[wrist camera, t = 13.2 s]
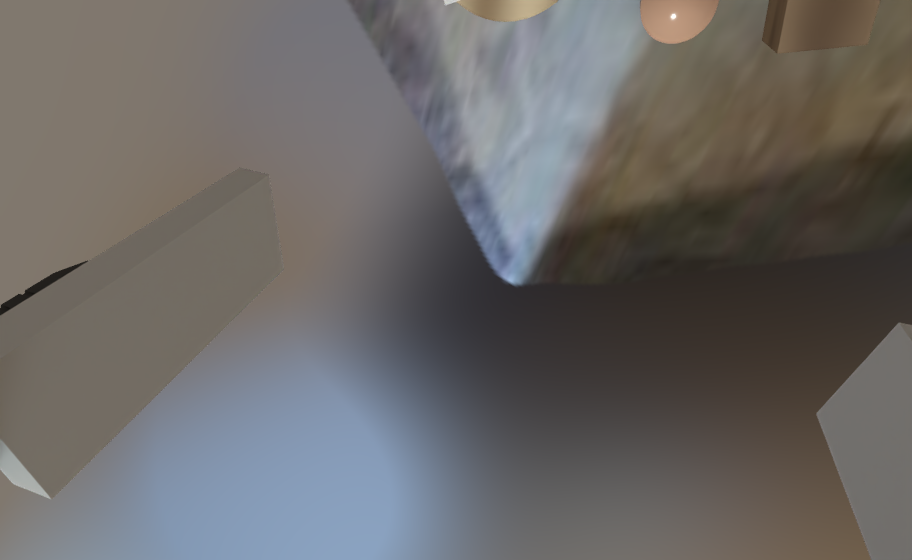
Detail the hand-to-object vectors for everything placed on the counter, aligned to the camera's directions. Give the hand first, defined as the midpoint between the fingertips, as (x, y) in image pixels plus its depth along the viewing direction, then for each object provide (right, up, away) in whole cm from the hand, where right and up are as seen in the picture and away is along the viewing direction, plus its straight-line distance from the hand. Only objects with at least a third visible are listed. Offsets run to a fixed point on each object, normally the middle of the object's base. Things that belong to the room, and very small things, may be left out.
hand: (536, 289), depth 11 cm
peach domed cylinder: (+13, +20, +22) cm, 32 cm away
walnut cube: (+21, +18, +20) cm, 34 cm away
